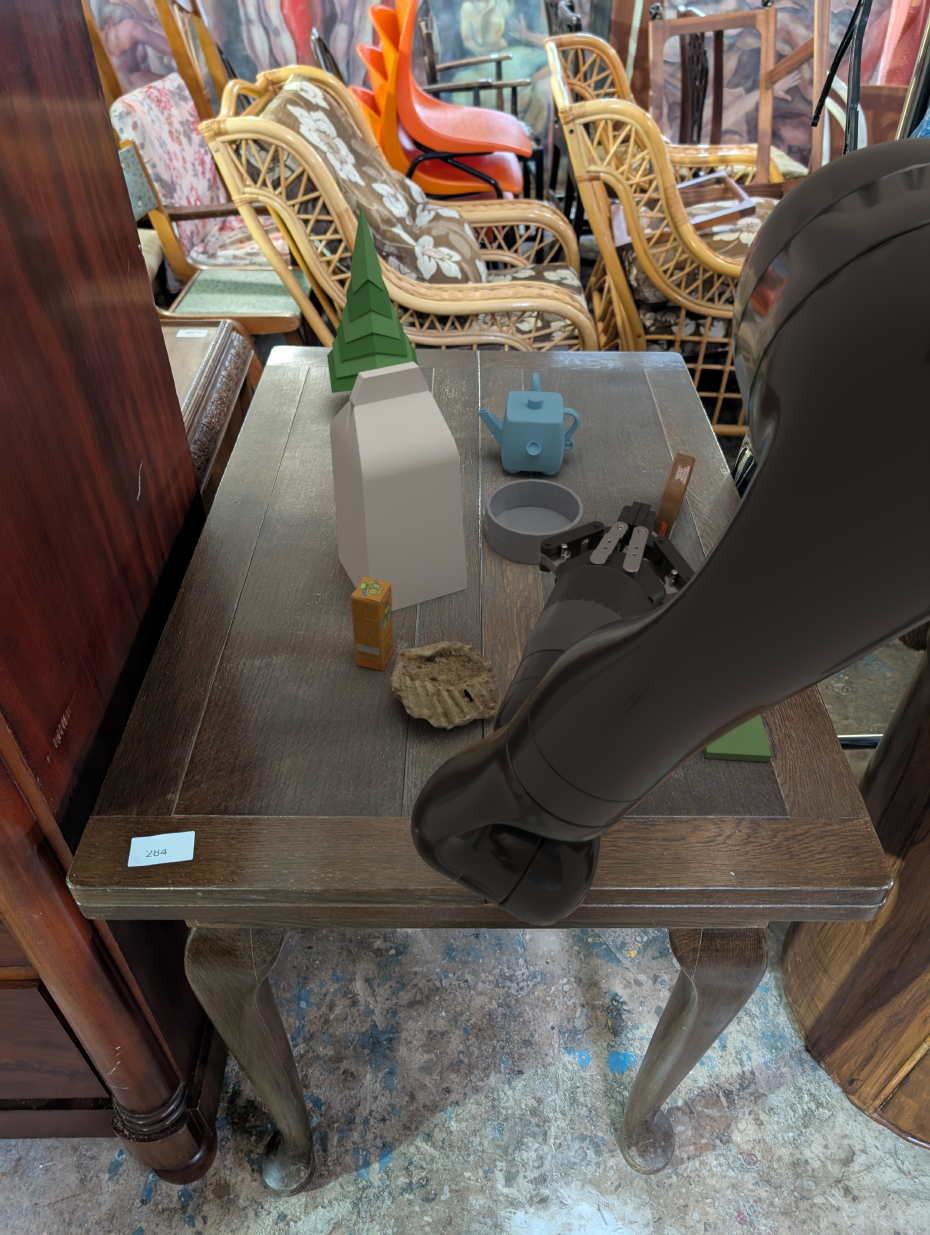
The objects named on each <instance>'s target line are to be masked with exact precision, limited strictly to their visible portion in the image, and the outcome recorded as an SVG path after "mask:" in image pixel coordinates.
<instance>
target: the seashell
mask: <svg viewBox="0 0 930 1235" xmlns="http://www.w3.org/2000/svg"><path fill="white" fill-rule="evenodd" d="M389 681H390V683H389V684H390V687H391V692H393V696H394V697H395V698H396V699H397V700H399V701H401V702H402V704H403V706H404V708H405V710H406V713H407V714H408V715H409V716H410V717H411V718H413V719H420V718H421V719H424V720H427V721H428V722H429V723H430V724H431V726H432V727H435V728H438V729H447V730H450V729H452V728H454V727H462V726H465V725H468V724H469V723H470V722H473V721H474V720H480V719H483V720H485V719H489V718H490V717H495V716H496V713H497V711H498V708H499V704H498V693H497V691H498V690H497V688H496V684H495V683H496V682H497V681H498V676H497V675H496V674H495V672H493V666H492V664H490V663H489V662H488V661H487V659H486V658H485V656H484V655H483V654H482V653H480V652H479V651H478V650H476V649H475V647H474V646H473V645H471V644H465V643H463V642H461V641H456V640H455V641H451V640H445V641H440V642H437V643H431V644H428V645H424V646H420V647H417V646H416V647H410V648H404V649H401V650H399V651H398V653H397V656H396V662H395V666H394V668H393V671H392V675H391V676H390V680H389Z"/></svg>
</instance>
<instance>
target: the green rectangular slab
mask: <svg viewBox="0 0 930 1235" xmlns="http://www.w3.org/2000/svg"><path fill="white" fill-rule="evenodd" d="M703 753H704V759H706V760H707V759H708V760H724V761H727V760H728V761H741V762H759V763H769V762H770V760H771V759H772V752H771V749H770V745H769V741H768V737H767V734H766V730H765V726H764V721H763V718H762V714H760V715H758V716H756V717H754V718H753V719H751V720H749V721H747V722H745V723H744V724H742V725H740V726H738V727H736V728H735V729H733V730H732V731H730V732H728V733H727V734H725V735H724V736H722V737H721V738H719V739H717V740H716V741H714V742H713V743H711V744H710V745H709V746H707V747H706V748H705V749H703Z"/></svg>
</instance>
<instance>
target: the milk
mask: <svg viewBox="0 0 930 1235" xmlns="http://www.w3.org/2000/svg"><path fill="white" fill-rule="evenodd" d="M329 438H330V439H329V440H330V452H331V465H332V477H333V492H334V504H335V506H334V508H335V518H336V531H337V544H338V545H337V547H338V558H339V562H340V563H341V566H342V567H343V569H344V571H345V572H346V574H347V576H348V578H349V579H350V581H351V584H352V585H353V587H354V588H355V590H356V589H357V587H358V586H359V584H360V583H361V579H362V577H368V578H372V579H376V580H381V581H384V582H388V583H390V584H391V597H392V612H395V611H398V610H401V609H405V608H408V607H412V606H415V605H419V604H421V603H424V602H428V601H431V600H434V599H437V598H438V599H439V598H440V597H444V596H447V595H450V594H453V593H458V592H460V591H463V590H467V589H468V588H469V586H468V573H467V558H466V541H465V529H464V528H465V527H464V514H463V513H464V512H463V499H462V496H463V495H462V484H461V481H462V480H461V468H460V467H461V466H460V455H459V450H458V447H457V444H456V441H455V438H454V436H453V434H452V432H451V430H450V428H449V425H448V423H447V421H446V419H445V418H444V416H443V414H442V412H441V409H440V408H439V406H438V404H437V402H436V399H435V397H434V395H433V393H432V392H431V391H430V388H429V385H428V383H427V381H426V379H425V376H424V375H423V373H422V371H421V368H420V366H419V365H418V366H417V364H416V363H415V362H409V363H404V364H399V365H394V366H389V367H384V368H379V369H374V370H369V371H364V372H359V373H358V376H357V379H356V382H355V384H354V387H353V390H351V393H350V395H349V400H348V401H347V402H346V403H345V404H344V406H342V407H341V409H340V410H339V411H338V413H337V414H336V415H334V417H333V418H332V420H331V423H330V427H329Z"/></svg>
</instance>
